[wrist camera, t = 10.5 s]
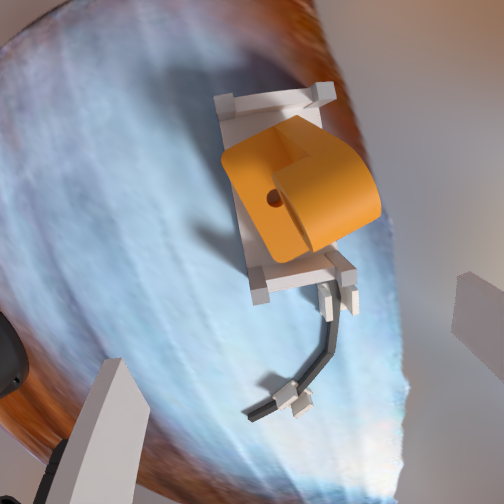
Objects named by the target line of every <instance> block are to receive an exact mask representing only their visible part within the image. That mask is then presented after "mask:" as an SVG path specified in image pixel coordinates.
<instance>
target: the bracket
mask: <svg viewBox="0 0 504 504" xmlns="http://www.w3.org/2000/svg"><path fill="white" fill-rule="evenodd" d="M221 163H222V166H223V168H224V170H225V171H226V173H227V175H228V177H229V179H230V180H231V182H232V184H233V186H234V188H235V189H236V191H237V193H238V195H239V197H240V199H241V200H242V202H243V204H244V206H245V208H246V210H247V211H248V213H249V215H250V217H251V219H252V221H253V222H254V224H255V226H256V228H257V230H258V232H259V233H260V235H261V237H262V239H263V241H264V243H265V245H266V246H267V248H268V250H269V252H270V254H271V256H272V257H273V259H274V260H275V261H277V262H279V263H286V262H288V261H290V260H292V259H294V258H296V257H298V256H300V255H302V254H304V253H306V252H308V251H309V250H310V251H311V252H312V253H314V252H316V251H318V250H320V249H322V248H324V247H325V246H327V245H329V244H331V243H333V242H335V241H337V240H338V239H340V238H342V237H344V236H346V235H348V234H350V233H351V232H353V231H355V230H357V229H359V228H361V227H362V226H364V225H366V224H368V223H370V222H372V221H373V220H375V219H377V218H379V216H380V214H381V202H380V197H379V194H378V190H377V188H376V185H375V182H374V180H373V178H372V176H371V174H370V172H369V170H368V168H367V167H366V165H365V164H364V162H363V161H362V159H361V158H360V156H359V155H358V154H357V153H356V152H355V151H354V150H353V149H352V148H351V147H350V146H349V145H348V144H346V143H345V142H343V141H342V140H340V139H338V138H337V137H335V136H333V135H332V134H330V133H328V132H327V131H325V130H323V129H321V128H320V127H318V126H316V125H315V124H313V123H311V122H309V121H307V120H306V119H304V118H302V117H300V116H298V115H295V116H293V117H291V118H288V119H286V120H284V121H282V122H280V123H278V124H276V125H274V126H272V127H270V128H268V129H265V130H263V131H261V132H259V133H257V134H255V135H253V136H251V137H249V138H248V139H246V140H244V141H242V142H240V143H238V144H236V145H234V146H232V147H230V148H228V149H227V150H225V151H224V153H223V154H222V157H221ZM273 189H277V191H278V193H279V195H280V198H279V199H278V200H277V201H276V202H273V203H270V202H267V194H268V193H269V192H270V191H271V190H273Z"/></svg>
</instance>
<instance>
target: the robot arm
mask: <svg viewBox="0 0 504 504" xmlns="http://www.w3.org/2000/svg"><path fill="white" fill-rule="evenodd" d="M451 333H452V334H453V335H454V336H455V337H456V338H458V339H459V340H460V341H461V342H462V343H463V344H464V345H465V346H466V347H467V348H468V349H469V350H470V351H471V352H472V353H473V354H475V355H476V356H477V357H478V358H479V359H480V360H481V361H482V362H483V363H484V364H485V365H486V366H487V367H488V368H489V369H490V370H491V371H492V372H493V373H494V374H495V375H496V376H497V377H498V378H499V379H500V380H501V381H502V382H503V383H504V292H503V291H501V290H500V289H498V288H497V287H495V286H493V285H492V284H490V283H488V282H487V281H485V280H483V279H482V278H480V277H479V276H477V275H475V274H474V273H472V272H467V273H464V274H462V275H459V276H458V277H457V288H456V298H455V306H454V314H453V321H452V328H451ZM28 373H29V362H28V358H27V354H26V351H25V349H24V346H23V344H22V342H21V340H20V338H19V337H18V335H17V333H16V332H15V330H14V329H13V327H12V326H11V324H10V323H9V322H8V321H7V319H6V318H5V317H4V316H3V315H2V314H1V313H0V399H2V398H3V397H5V396H7V395H9V394H10V393H12V392H14V391H15V390H17V389H18V388H19V387H20V386H21V385H22V384H23V382H24V381H25V380H26V378H27V376H28ZM149 413H150V408H149V406H148V404H147V402H146V401H145V399H144V397H143V396H142V394H141V392H140V390H139V388H138V387H137V385H136V383H135V381H134V379H133V377H132V375H131V374H130V372H129V370H128V368H127V366H126V364H125V362H124V360H123V358H115V359H106V360H105V361H104V363H103V365H102V367H101V369H100V371H99V373H98V375H97V377H96V379H95V381H94V384H93V386H92V388H91V390H90V392H89V394H88V397H87V399H86V401H85V403H84V406H83V408H82V410H81V412H80V415H79V417H78V419H77V422H76V424H75V426H74V429H73V431H72V433H71V436H70V438H69V439H63V440H62V441H61V442H60V443H59V444H58V445H57V446H56V448H55V449H54V450H53V453H52V455H51V457H50V460H49V464H48V465H47V467H46V471H45V474H44V475H43V478H42V480H41V483H40V485H39V488H38V491H37V494H36V497H35V499H34V502H33V504H132V499H133V493H134V488H135V482H136V477H137V471H138V466H139V461H140V455H141V450H142V445H143V441H144V436H145V431H146V426H147V422H148V417H149ZM0 504H21V503H20V502H18V501H17V500H16V499H15V498H13V497H11V496H7V495H6V496H1V497H0Z"/></svg>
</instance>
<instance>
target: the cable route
mask: <svg viewBox="0 0 504 504" xmlns="http://www.w3.org/2000/svg"><path fill="white" fill-rule="evenodd" d="M317 288H318V299H319V310H320V314H321V315H323V316H324V318H325V320H326V322H328V330H327V340H326V349H325V350H324V351H323V352H322V354H321V355H320V356H319V357H318V359H317V360H316V361H315V362H314V364H313V365H312V366H311V367H310V368H309V370H308V371H307V372H306V373H305V375H304V376H303V377H302V378H301V379H300V381H299V382H297V381H295V380H294V379H292V380H291V381H290V382H289V383H287V384H286V385H285V386H284V387H282V388H281V389H280V390H279V391H277V392H276V393H275V394H274V395H272V397H273V399H275V400H274V401H272V402H271V403H269V404H267V405H265V406H263V407H261V408H259V409H257V410H256V411H254V412H252V413H250V414H248V420H249V421H251V422H254V421H256V420H258V419H260V418H262V417H264V416H266V415H268V414H270V413H272V412H274V411H276V410H278V409H279V410H281V411H282V410H283V409H284V408H286V407H287V406H288V407H290V408H292V413H293V417H295V418H299V417H300V416H301V415H303V414H304V413H305V412H307V411H308V410H309V409H311V408H312V407H313V406H314V405H313V402H312V399H311V396H310V395H311V394H312V393H313V392H312V390H310V389H308V388H307V386H308V385H309V384H310V383H311V382H312V381H313V379H314V378H315V377H316V376H317V375H318V374H319V372H320V371H321V370H322V369H323V368H324V366H325V365H326V364H327V363H328V362H329V360H330V359H331V358H332V357H333V355H334V353H335V349H336V341H337V333H338V324H339V316H340V311H342V310H346V309H348V310H349V311H350V313H351V314H352V316H353V315H357V314H359V294H358V289H357V288H356V287H355V286H354V285H350V286H346V287H341V285H340V284H339V283H338V281H337V280H336V279H333V280H329V281H325V282H320V283H317Z"/></svg>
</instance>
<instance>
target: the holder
mask: <svg viewBox="0 0 504 504" xmlns="http://www.w3.org/2000/svg"><path fill="white" fill-rule="evenodd" d="M213 97H214V102H215V108H216V113H217V116H218V119H219V123H220V128H221V134H222V139H223V145H224V150H227V149H228V148H230V147H232V146H234V145H236V144H238V143H240V142H242V141H244V140H246V139H248V138H249V137H251V136H253V135H255V134H257V133H259V132H261V131H263V130H265V129H268V128H270V127H272V126H274V125H276V124H278V123H280V122H282V121H284V120H286V119H288V118H291V117H293V116H295V115H298V116H300V117H302V118H304V119H306V120H307V121H309V122H311V123H313V124H315V125H316V126H318V127H320V128H321V129H322V124H321V118H320V113H319V107H320V106H323V105H325V104H327V103H329V102H331V101H333V100H335V99H337V98H336V93H335V88H334V83H333V82H318V83H315V84H313V85H312V86H311V87H310V88H304V89H293V90H284V91H275V92H267V93H260V94H253V95H246V96H240V97H233V93H227V94H222V95H216V96H213ZM230 182H231V180H230ZM231 187H232V192H233V198H234V203H235V208H236V214H237V219H238V224H239V229H240V234H241V240H242V245H243V250H244V255H245V260H246V265H247V271H248V278H249V285H250V291H251V296H252V301H253V306H254V305H259V304H264V303H269V302H270V298H269V293H270V292H275V291H280V290H285V289H290V288H295V287H300V286H305V285H310V284H315V283H319V282H324V281H329V280H333V279H336V280H337V281H338V283H339V284H340V285H341V287H346V286H350V285H354V284H357V269H356V268H355V267H354V266H353V265H352V264H351V263H350V262H349V261H348V260H347V259H346V258H345V257H344V256H343V255H342V254H341V253H340V252H339V251H338V249H337V241H335V242H333V243H331V244H329V245H327V246H325V247H324V248H322V249H320V250H318V251H316V252H314V253H312V252H311V251H310V250H309V251H308V252H306V253H304V254H302V255H300V256H298V257H296V258H294V259H292V260H290V261H288V262H286V263H279V262H277V261H275V260H274V259H273V257H272V256H271V254H270V252H269V250H268V248H267V246H266V245H265V243H264V241H263V239H262V237H261V235H260V233H259V232H258V230H257V228H256V226H255V224H254V222H253V221H252V219H251V217H250V215H249V213H248V211H247V210H246V208H245V206H244V204H243V202H242V200H241V199H240V197H239V195H238V193H237V191H236V189H235V188H234V186H233V184H232V182H231ZM279 198H280V195H279V193H278V191H277V189H273V190H271V191H270V192H269V193H268V194H267V202H270V203H273V202H276V201H277V200H278V199H279Z"/></svg>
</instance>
